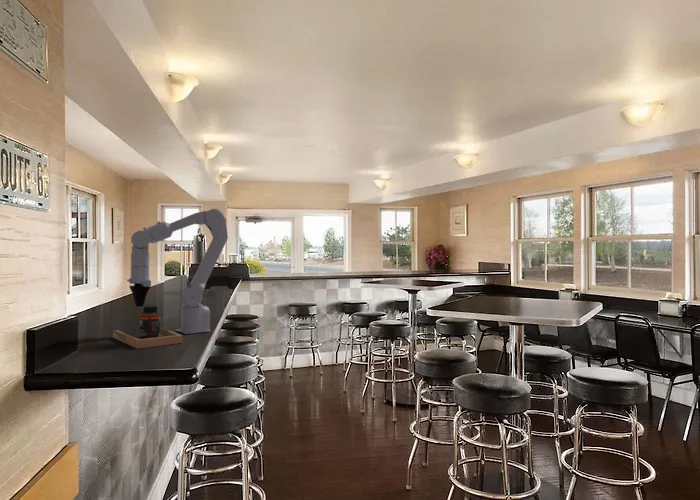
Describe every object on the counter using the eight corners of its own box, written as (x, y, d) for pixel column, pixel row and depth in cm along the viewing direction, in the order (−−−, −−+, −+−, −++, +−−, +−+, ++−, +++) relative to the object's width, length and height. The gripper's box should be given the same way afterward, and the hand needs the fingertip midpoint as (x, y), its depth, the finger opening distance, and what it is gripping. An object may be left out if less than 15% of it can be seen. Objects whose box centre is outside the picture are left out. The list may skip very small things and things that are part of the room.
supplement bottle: (163, 340, 164) (164, 305, 164) (153, 344, 158) (154, 307, 158) (146, 339, 165) (146, 304, 165) (135, 343, 159) (136, 306, 159)
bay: (155, 333, 176) (156, 326, 176) (182, 343, 161) (182, 335, 160) (113, 337, 167) (113, 329, 167) (136, 348, 151) (137, 340, 151)
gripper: (120, 265, 177) (120, 304, 177) (135, 267, 166) (135, 309, 166) (141, 265, 182) (140, 303, 182) (157, 267, 171) (156, 307, 171)
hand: (139, 306), depth 174 cm, fingers closed
